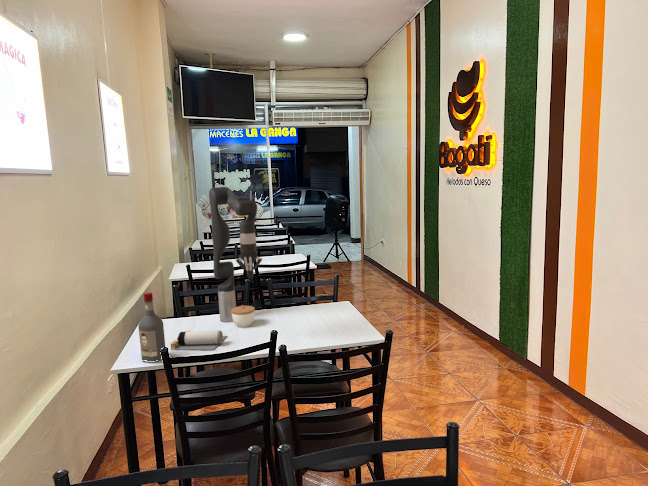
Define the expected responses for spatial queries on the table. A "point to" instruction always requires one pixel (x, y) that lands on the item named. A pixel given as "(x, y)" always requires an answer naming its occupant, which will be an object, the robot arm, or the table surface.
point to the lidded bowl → (243, 315)
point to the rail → (175, 344)
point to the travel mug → (200, 337)
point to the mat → (200, 346)
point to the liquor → (151, 332)
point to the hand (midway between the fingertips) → (250, 277)
